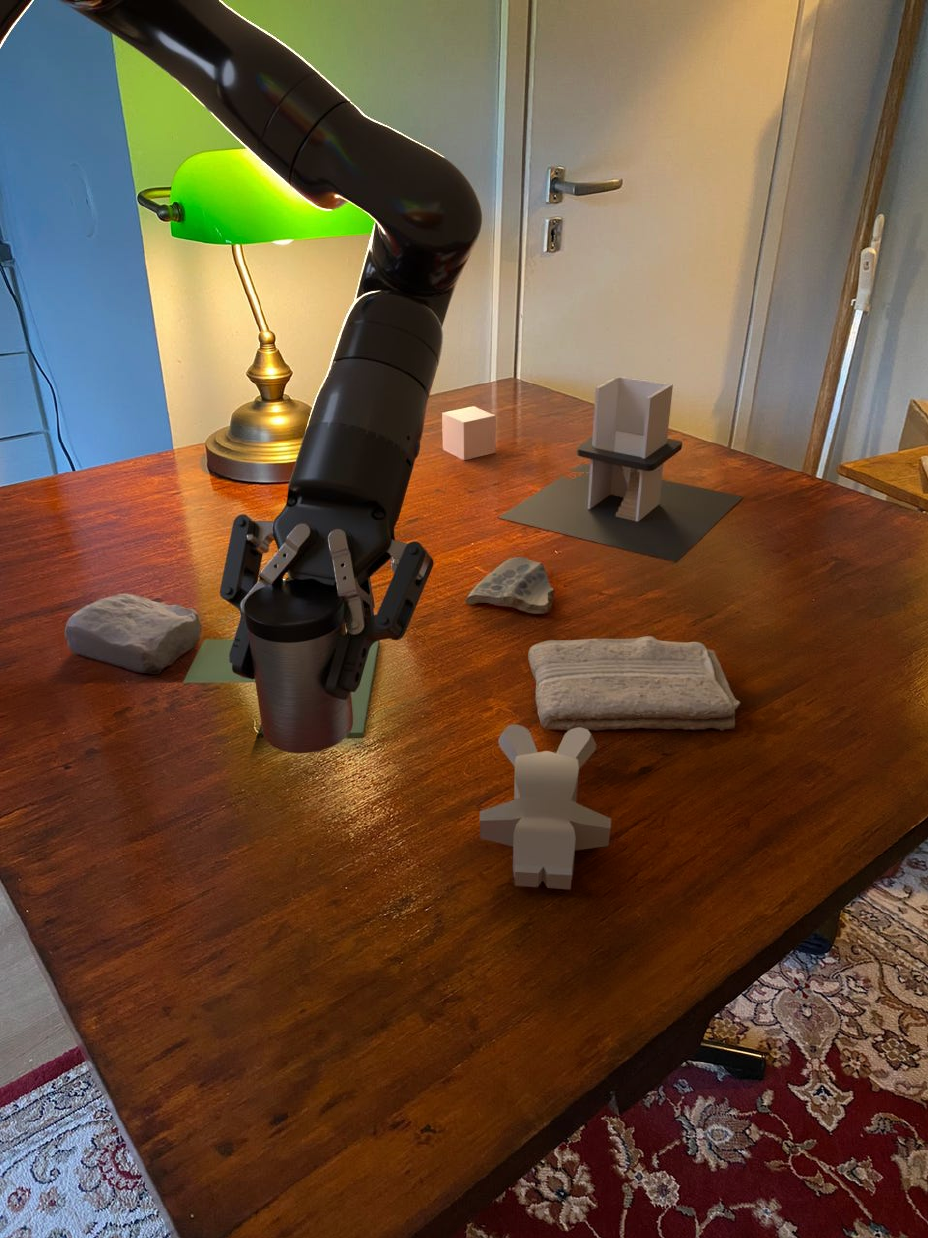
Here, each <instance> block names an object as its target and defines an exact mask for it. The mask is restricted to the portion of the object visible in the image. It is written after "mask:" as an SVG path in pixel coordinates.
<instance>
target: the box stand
mask: <svg viewBox="0 0 928 1238" xmlns="http://www.w3.org/2000/svg"><path fill="white" fill-rule="evenodd" d="M673 386H674V384H670V383H665V382H659V381H652V380H647V379H646V380H645V379H639V378H634V377H633V378H632V377H626V376H620V375H617V376H615V377H613V378H611V379H609V380H607V381H605V382H603V383H601V384H599V385H597V386H595V395H594V408H593V409H594V410H593V411H594V412H593V425H592V427H593V428H592V436H591V437H590V438H588V439H586V440H585V441H582V442H581V443H579V445H578V446H577V448H576V455H577V457H580V458H581V457H582V458H586V459H589V460H590V462H589V463H590V464H587V463H580V464H579V465H577V466H575V467H574V468H575V469H574V468H573V469H571V470H569V471H568V472H584V474H581V476H577V475H578V474H576V476H577V477H576V478H574V477H575V476H571V477H573V478H574V479H572V478H568V479H569V480H570V479H571V480H570V481H568V479H564V478H566V477H567V476H566V475H565V474H563V475H564V476H565V477H563V475H561V476H560V477H561V478H560V477H558V478H557V479H556V480H554V481H552V482H550V483H549V484H548V485H546V486H544V487H543V488H542V489H540V490H537V491H536V492H535V493H533V494H532V495H530V496H529V497H527V498H526V499H524V500H523V501H520V503H518V504H516V505H515V506H513V507H511V508H510V509H509V510H507V511H506V512H504V513H502V514H500V515H499V516H498V517H497V519H501V520H506V521H510V522H514V523H518V524H522V525H526V526H529V527H534V528H538V529H542V530H546V531H550V532H555V533H557V534H561V535H565V536H570V537H575V538H578V539H583V540H586V541H589V542H594V543H598V544H602V545H606V546H610V547H613V548H619V549H622V550H627V551H630V552H635V553H639V554H642V555H646V556H650V557H654V558H658V559H661V560H666V561H670V562H674V563H678V561H679V560H680V559H681V558H682V557H683V556H684V555H685V554H686V553H687V552H688V551H689V550H690V549H691V548H692V547H693V546H695V544H696V543H697V542H699V540H701V538H703V537H704V536H705V534H707V532H709V531H710V530H711V529H712V528H713V527H714V526H715V525H716V524H717V523H718V522H719V521H720V520H721V519H722V518H723V517H724V516H725V515H726V514H727V513H728V512H729V511H730V510H731V509H732V508H733V507H735V506H736V504H738V503H739V502H740V501H741V499H743V498H744V496H743V495H739V494H738V495H737V494H734V493H729V492H724V491H718V490H714V489H709V488H703V487H699V486H694V485H689V484H684V483H679V482H676V481H669V480H665V479H663V471H664V463H666V462H667V461H668V460H669V459H671V458H673V456H675V455H677V454H678V453H679V452H680V451H682V448H683V442H682V441H681V440H676V439H671V438H668V435H669V428H670V427H669V426H670V416H671V407H672V398H673V388H674V387H673ZM580 466H581V467H580ZM573 470H574V471H573ZM586 472H589V473H586Z"/></svg>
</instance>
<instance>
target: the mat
mask: <svg viewBox="0 0 928 1238" xmlns="http://www.w3.org/2000/svg"><path fill="white" fill-rule="evenodd" d="M233 641H234V638H206V639H205V638H204V639H203V640H202V643H201V645H200V646H199V649H198V651H197V652H196V655H195V657H194V659H193V661H192V663H191V665H190V667H189V669H188V670H187V673H186V675H185V677H184V679H183V680H182V683H183V684H197V683H198V684H217V683H219V684H220V683H222V684H229V683H230V684H231V683H233V684H237V683H238V684H239V683H252V684H253V683H255V679H249V678H244V677H242V676H240V675H238V674H235V673H234V672H233V671H232V665H233V664H232V663H230V660H229V653H230V650H231V647H232V644H233ZM380 642H381V640H379V641H376V642H375V643H373V644H372V646H371V647H370V650H369V653H368V657H367V660H366V664H365V667H364V670H363V675H362V678H361V682H360V685H359V687H358V688H357V690H356V691H355V692H351V699H352V711H353V727H352V729H351V731H350V733H349V734H348V736H347V737H346V738H364V736H365V730H366V724H367V718H368V712H369V706H370V701H371V696H372V689H373V683H374V677H375V671H376V665H377V660H378V655H379V654H378V653H379V649H380ZM255 684H256V683H255ZM257 732H258V733H257V735H256V739H257V738H259V739H260V738H262V739H265V738H264V735H263V731H262V724H261V723H260V725H259V729H258V731H257Z"/></svg>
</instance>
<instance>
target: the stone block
mask: <svg viewBox="0 0 928 1238" xmlns="http://www.w3.org/2000/svg"><path fill="white" fill-rule="evenodd" d="M202 627H203V626H202V623H201V620H200V617H199V614H198V613H197V611H196V610H195V609H193V608H187V607H183V606H182V605H180V604H171V605H169V604H166V603H164V602H161V601H153V600H151V599H150V598H147V597H144V596H142V595H141V596H140V595H136V594H131V593H116V594H113V595H110V596H107V597H104V598H98V599H97V600H96V601H94V602H92V603H89V604H86V605H85V606H83V607H82V608H81V609H79V610H77V611H76V612H75V613H74V614H72V615H71V616H70V617H69V618H68V619H67V622H66V624H65V629H64V637H65V639H66V641H67V642H66V643H67V647H68V650H69V651H70V652H72V653H73V654H75V655H79V656H81V657H85V658H88V659H91V660H94V661H97V662H101V663H106V664H108V665H110V666H113V667H119V668H124V669H126V670H127V671H131V672H134V673H138V674H150V675H155V676H156V675H159V674H161V672H163V670H164V669H165V668H167V667H171V666H172V665H173V664H174V663H175V662H176V660H177V659H178V658H179V657H181V656H183V655H184V654H186V653H187V652H189V651H191V650H192V649H193V648H194V647H195V646H197V645H198V643H199V642H200V639H201V634H202V629H203V628H202Z"/></svg>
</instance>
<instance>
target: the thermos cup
mask: <svg viewBox="0 0 928 1238" xmlns="http://www.w3.org/2000/svg"><path fill="white" fill-rule="evenodd" d="M244 613H245V620H246V625H247V628H248V635H249V642H250V649H251V655H252V662H253V669H254V676H255V689H256V696H257V702H258V710H259V717H260V725H261V724H262V731H263V735H264V738H263V739H265V741H266V742H267V743H268V745H270V746H272V747H273V748H274V749H277V750H279V751H282V752H286V753H292V754H311V753H316V752H321V751H324V750H327V749H331V748H332V747H334V746H336V745H338V744H340V743H342V741H344V740H345V739H347V738H348V737H347V736H348V734H349V733H350V731H351V729H352V727H353V711H352V699H351V692H350V693H349V696H348V698H347V699H346V700H343V699H338V698H334V697H332V696H330V695H328V694H327V693H326V692H325V685H326V682H327V678H328V675H329V671H330V668H331V664H332V661H333V657H334V654H335V651H336V647H337V644H338V641H339V638H340V635H346V632H347V630H346V625H345V619H344V598H339V596H338V591H337V587H332V586H327V585H323V584H321V583H319V582H317V581H298V580H295V579H294V580H293V579H292V580H285V581H281V582H278V583H276V584H274V585H272V586H271V585H266V586H264V587H262V588H260V589H258V590H256V591H255V592H253V593H252V594H251V595H250V596H249V597H248V598H247V599H246V601H245V604H244Z"/></svg>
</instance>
